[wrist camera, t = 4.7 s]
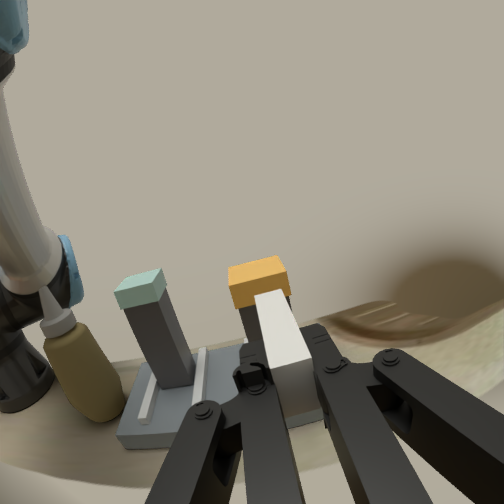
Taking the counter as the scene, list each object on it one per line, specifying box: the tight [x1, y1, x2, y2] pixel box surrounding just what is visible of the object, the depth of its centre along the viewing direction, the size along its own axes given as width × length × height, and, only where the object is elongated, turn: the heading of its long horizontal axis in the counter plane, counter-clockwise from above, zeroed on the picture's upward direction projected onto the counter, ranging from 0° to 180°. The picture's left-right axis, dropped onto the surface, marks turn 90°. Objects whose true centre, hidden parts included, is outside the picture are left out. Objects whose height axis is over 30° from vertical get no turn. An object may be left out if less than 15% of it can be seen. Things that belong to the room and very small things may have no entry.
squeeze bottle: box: [39, 286, 125, 422], centre depth 30 cm, size 8×8×18 cm
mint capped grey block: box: [114, 268, 196, 389], centre depth 31 cm, size 4×4×13 cm
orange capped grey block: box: [229, 255, 292, 343], centre depth 26 cm, size 4×4×13 cm
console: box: [115, 323, 324, 449], centre depth 31 cm, size 25×14×4 cm, turn 94°
